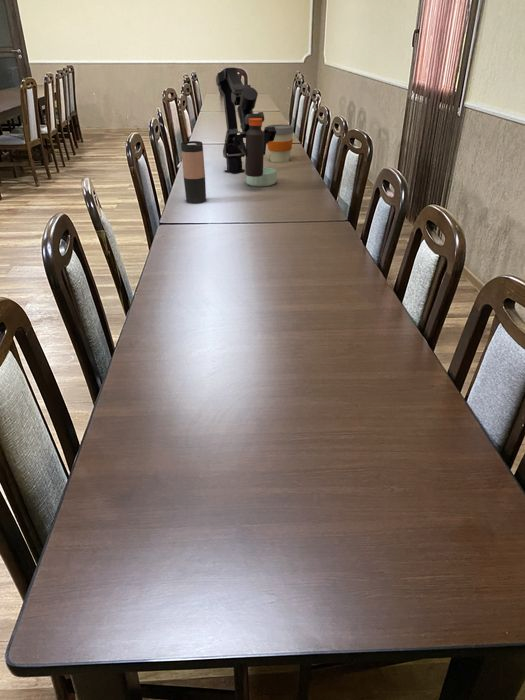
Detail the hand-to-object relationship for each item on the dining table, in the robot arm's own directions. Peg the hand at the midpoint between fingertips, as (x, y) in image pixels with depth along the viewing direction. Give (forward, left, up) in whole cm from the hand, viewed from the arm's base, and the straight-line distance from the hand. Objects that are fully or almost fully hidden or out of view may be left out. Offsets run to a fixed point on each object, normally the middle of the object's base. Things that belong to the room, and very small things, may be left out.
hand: (255, 154), depth 200 cm
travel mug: (-8, -24, -13) cm, 29 cm away
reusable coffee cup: (-29, +49, -13) cm, 59 cm away
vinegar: (-1, +1, -8) cm, 8 cm away
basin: (-6, +10, -13) cm, 18 cm away
